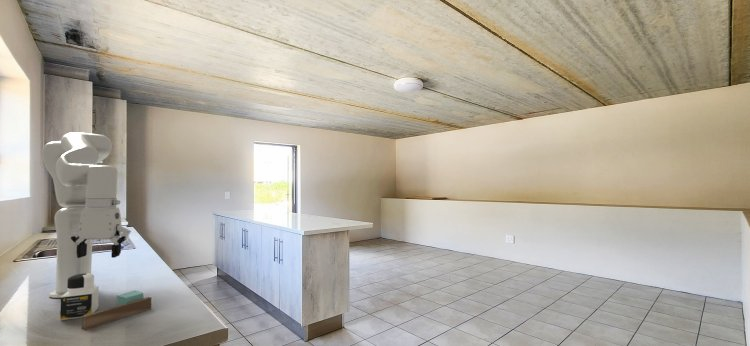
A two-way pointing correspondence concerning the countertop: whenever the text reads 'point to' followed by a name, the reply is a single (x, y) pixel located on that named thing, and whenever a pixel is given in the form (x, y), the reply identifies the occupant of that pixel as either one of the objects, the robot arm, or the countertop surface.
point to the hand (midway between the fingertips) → (98, 256)
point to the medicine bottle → (79, 297)
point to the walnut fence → (115, 313)
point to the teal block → (129, 297)
